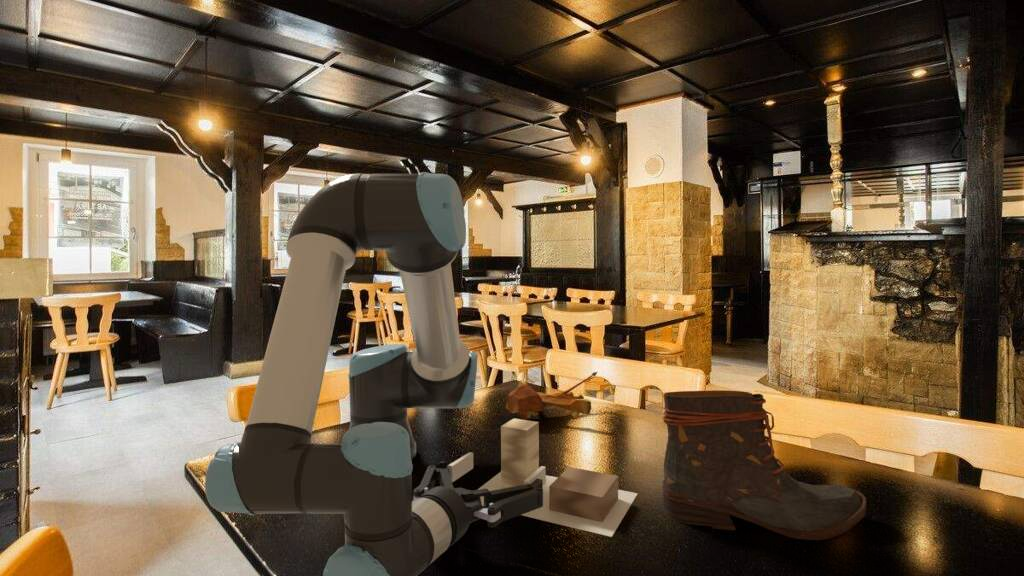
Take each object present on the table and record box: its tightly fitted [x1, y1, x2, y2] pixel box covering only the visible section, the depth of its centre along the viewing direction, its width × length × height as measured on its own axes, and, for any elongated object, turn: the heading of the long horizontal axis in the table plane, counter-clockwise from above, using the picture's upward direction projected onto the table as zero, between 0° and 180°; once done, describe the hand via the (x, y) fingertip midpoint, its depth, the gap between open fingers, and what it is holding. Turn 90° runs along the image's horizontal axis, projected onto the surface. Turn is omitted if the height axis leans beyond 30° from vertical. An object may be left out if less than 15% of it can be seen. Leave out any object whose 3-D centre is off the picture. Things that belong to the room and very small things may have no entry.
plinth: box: [549, 466, 619, 522], centre depth 88 cm, size 9×9×4 cm
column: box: [500, 418, 540, 489], centre depth 93 cm, size 5×5×12 cm
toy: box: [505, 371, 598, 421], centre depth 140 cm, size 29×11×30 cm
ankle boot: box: [661, 389, 867, 541], centre depth 83 cm, size 11×31×20 cm, turn 84°
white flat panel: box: [477, 471, 639, 538], centre depth 91 cm, size 26×16×1 cm, turn 63°
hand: (506, 466), depth 88 cm, fingers open, 13 cm apart
